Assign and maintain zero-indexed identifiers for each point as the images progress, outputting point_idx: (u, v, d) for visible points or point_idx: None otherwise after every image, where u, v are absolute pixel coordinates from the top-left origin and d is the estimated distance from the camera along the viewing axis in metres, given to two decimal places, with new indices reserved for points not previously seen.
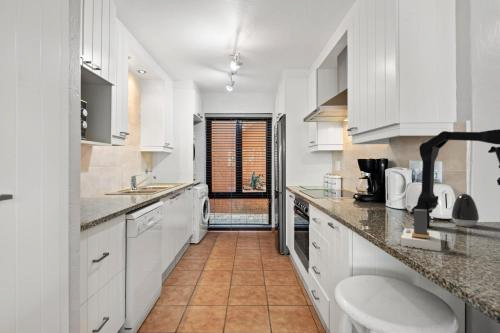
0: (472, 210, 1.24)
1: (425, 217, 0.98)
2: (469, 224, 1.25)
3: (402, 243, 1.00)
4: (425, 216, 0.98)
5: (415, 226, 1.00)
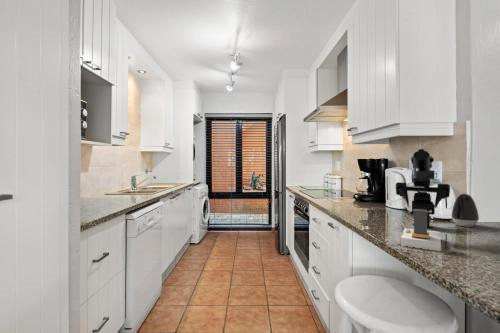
0: (472, 210, 1.24)
1: (425, 217, 0.98)
2: (469, 224, 1.25)
3: (402, 243, 1.00)
4: (425, 216, 0.98)
5: (415, 226, 1.00)
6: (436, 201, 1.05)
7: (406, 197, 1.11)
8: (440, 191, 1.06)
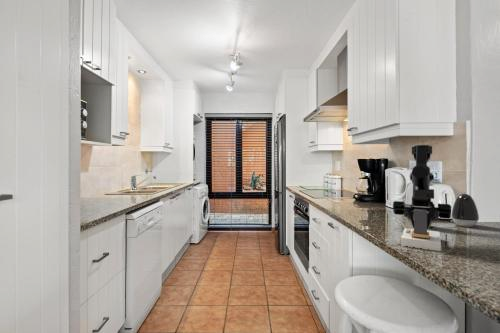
0: (472, 210, 1.24)
1: (425, 217, 0.98)
2: (469, 224, 1.25)
3: (402, 243, 1.00)
4: (425, 216, 0.98)
5: (415, 226, 1.00)
6: (428, 222, 0.99)
7: (411, 218, 1.02)
8: (432, 211, 0.99)
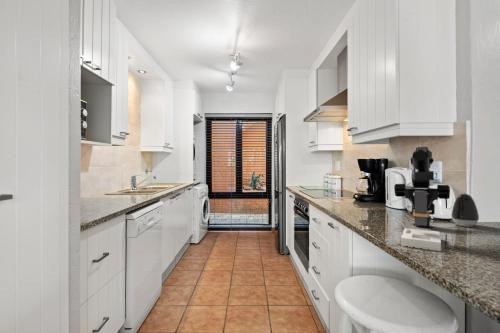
0: (472, 210, 1.24)
1: (425, 198, 1.03)
2: (469, 224, 1.25)
3: (402, 243, 1.00)
4: (425, 196, 1.03)
5: (415, 206, 1.05)
6: (428, 202, 1.04)
7: (412, 199, 1.07)
8: (432, 192, 1.05)
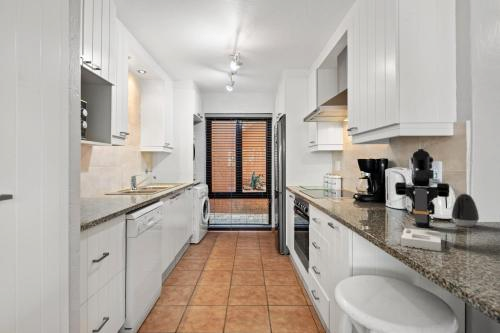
0: (472, 210, 1.24)
1: (425, 195, 1.06)
2: (469, 224, 1.25)
3: (402, 243, 1.00)
4: (425, 194, 1.06)
5: (416, 204, 1.08)
6: (428, 200, 1.07)
7: (412, 197, 1.10)
8: (432, 190, 1.07)
